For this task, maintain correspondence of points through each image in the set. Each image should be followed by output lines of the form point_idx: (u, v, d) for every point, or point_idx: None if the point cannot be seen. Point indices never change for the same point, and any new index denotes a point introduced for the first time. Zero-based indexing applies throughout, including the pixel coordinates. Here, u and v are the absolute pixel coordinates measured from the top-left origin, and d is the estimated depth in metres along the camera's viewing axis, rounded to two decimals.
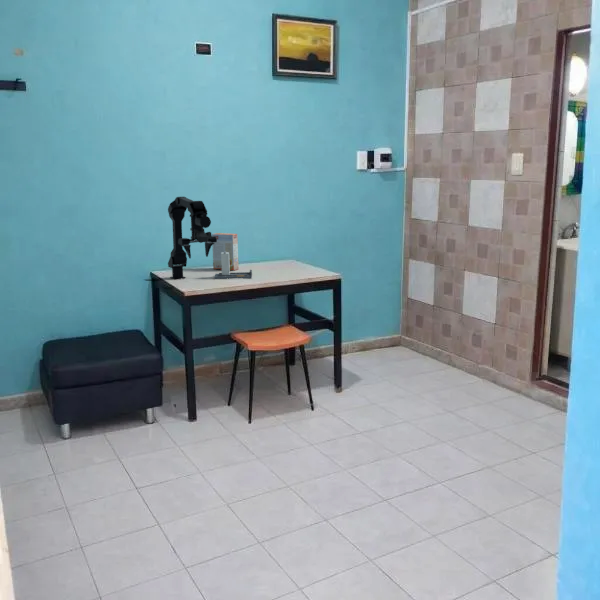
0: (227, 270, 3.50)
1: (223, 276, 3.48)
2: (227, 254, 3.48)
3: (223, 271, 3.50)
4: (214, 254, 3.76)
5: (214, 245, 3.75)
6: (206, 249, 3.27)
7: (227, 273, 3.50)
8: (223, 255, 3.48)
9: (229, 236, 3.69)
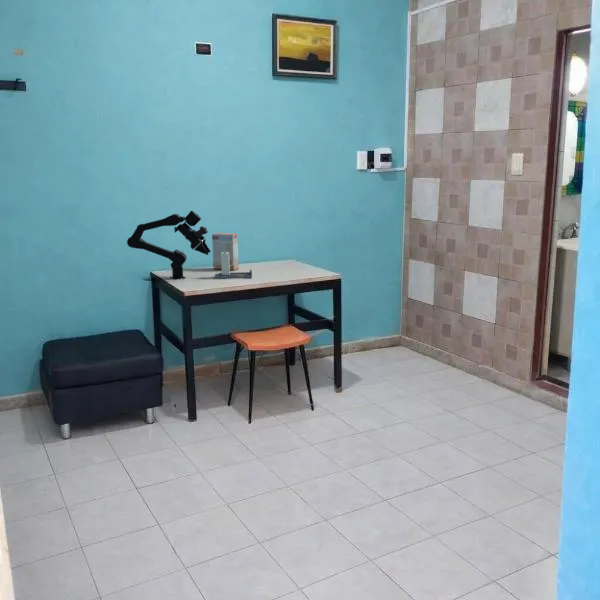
0: (227, 270, 3.50)
1: (223, 276, 3.48)
2: (227, 254, 3.48)
3: (223, 271, 3.50)
4: (214, 254, 3.76)
5: (214, 245, 3.75)
6: (204, 247, 3.53)
7: (227, 273, 3.50)
8: (223, 255, 3.48)
9: (229, 236, 3.69)
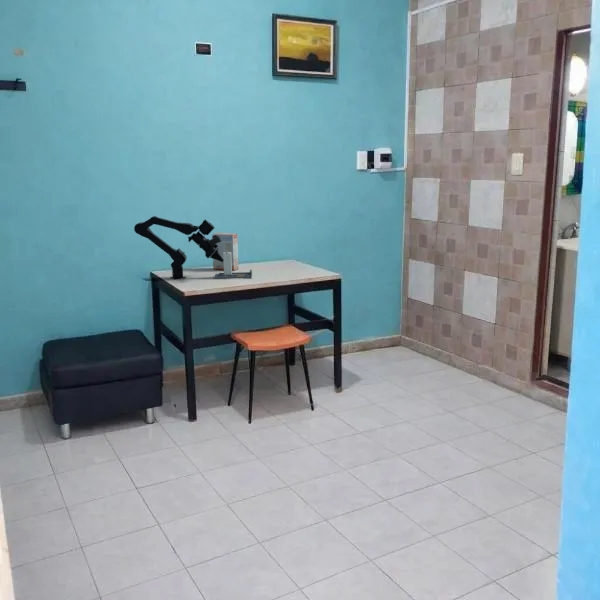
0: (229, 270, 3.50)
1: (223, 276, 3.48)
2: (229, 254, 3.48)
3: (225, 271, 3.50)
4: None
5: None
6: None
7: (229, 273, 3.50)
8: (225, 255, 3.48)
9: (229, 236, 3.69)
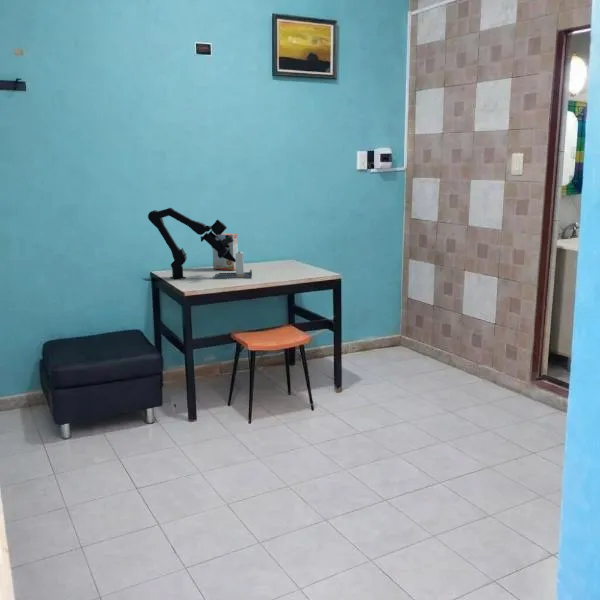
0: (241, 270, 3.50)
1: (223, 276, 3.48)
2: (241, 254, 3.48)
3: (237, 271, 3.50)
4: (214, 254, 3.76)
5: None
6: None
7: (241, 273, 3.50)
8: (237, 255, 3.48)
9: None
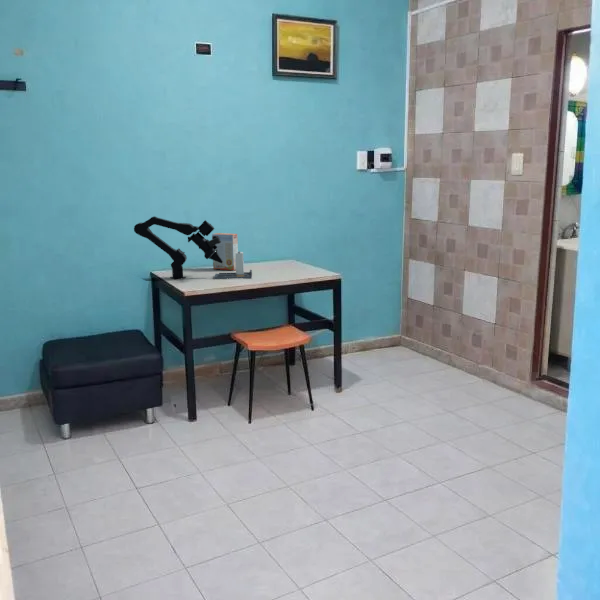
0: (241, 270, 3.50)
1: (223, 276, 3.48)
2: (241, 254, 3.48)
3: (237, 271, 3.50)
4: None
5: None
6: None
7: (241, 273, 3.50)
8: (237, 255, 3.48)
9: (229, 236, 3.69)
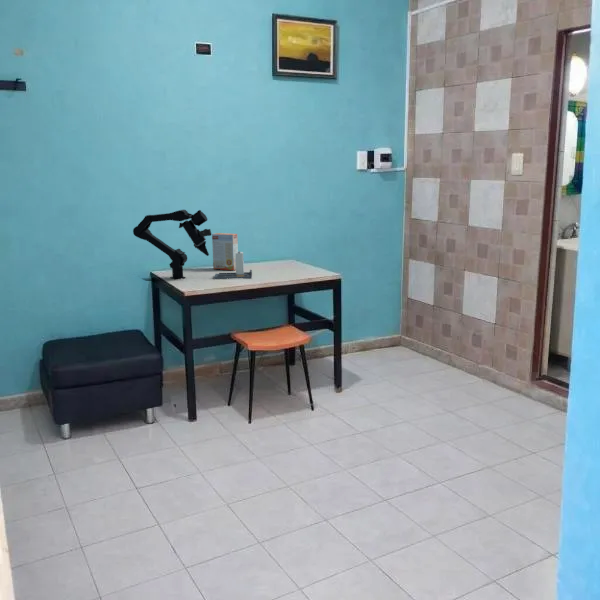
0: (241, 270, 3.50)
1: (223, 276, 3.48)
2: (241, 254, 3.48)
3: (237, 271, 3.50)
4: (214, 254, 3.76)
5: (214, 245, 3.75)
6: None
7: (241, 273, 3.50)
8: (237, 255, 3.48)
9: (229, 236, 3.69)
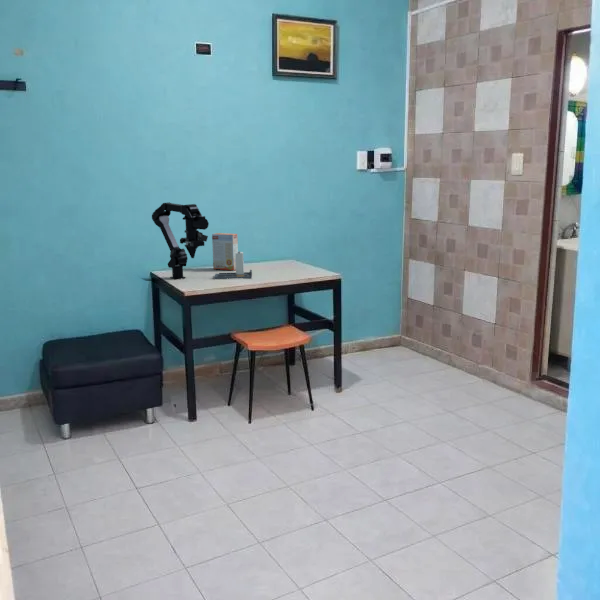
0: (241, 270, 3.50)
1: (223, 276, 3.48)
2: (241, 254, 3.48)
3: (237, 271, 3.50)
4: (214, 254, 3.76)
5: (214, 245, 3.75)
6: None
7: (241, 273, 3.50)
8: (237, 255, 3.48)
9: (229, 236, 3.69)
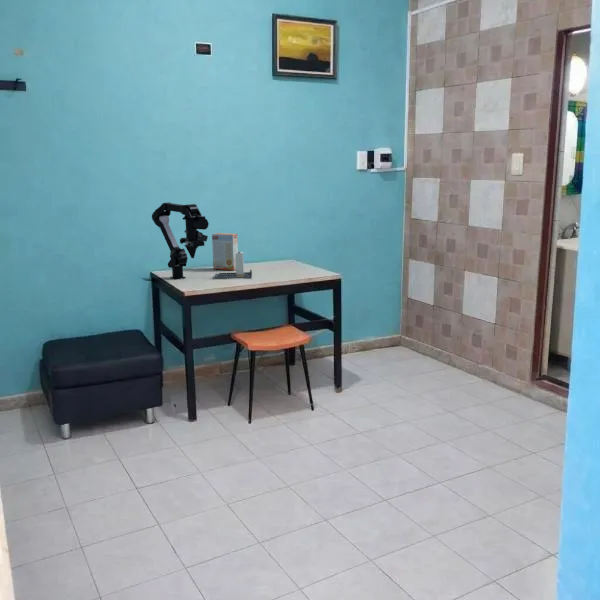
0: (241, 270, 3.50)
1: (223, 276, 3.48)
2: (241, 254, 3.48)
3: (237, 271, 3.50)
4: (214, 254, 3.76)
5: (214, 245, 3.75)
6: None
7: (241, 273, 3.50)
8: (237, 255, 3.48)
9: (229, 236, 3.69)
